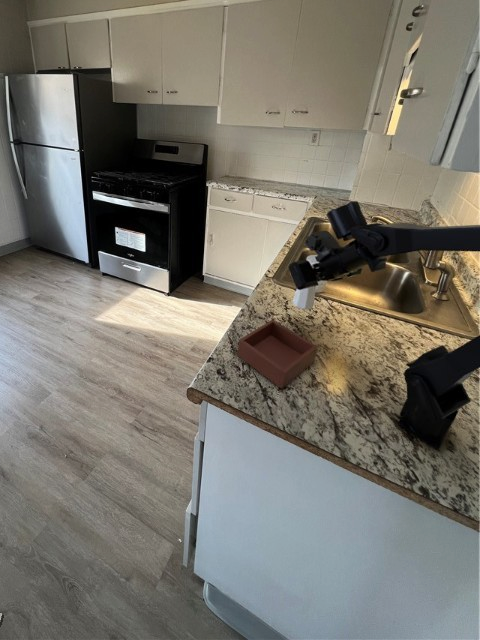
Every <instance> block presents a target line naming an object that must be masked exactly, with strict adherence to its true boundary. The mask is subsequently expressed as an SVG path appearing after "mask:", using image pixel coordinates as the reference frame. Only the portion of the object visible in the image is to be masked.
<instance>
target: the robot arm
mask: <svg viewBox="0 0 480 640" xmlns="http://www.w3.org/2000/svg"><path fill="white" fill-rule="evenodd" d="M326 219H327V220H328V222H329V224H330V226H331V229H332V231H333V233H334V235H335V237H334V235H332V233H331V232H330V231H329V230H319V231H314V232H313V233H310V235H308V236H306V239H305V242H304V244H305V246H306V247H307V249H308V250H309V251H311V252H313V251H314V252H315V254H316V255H317V256H316V257H315V258H316V261H317V262H319V263H316V264H313V267H312V266H311V264H310V262H309V261H307V260H306V259H307V258H306V259H301V260H296V261H293V262H292V263H290V264H289V265H288V271H289V273H290V275H291V278H292V281H293V283H294V285H295V288H296V290H297V289H298V290H302V289H306V288H310V287H313V286H317V285H319V284H318V282H319V281H327V282H337V281H341V280H343V279H344V277H346V278H348V279H349V278H352V277H355V276H356V277H357V276H359V275H361V274H362V271H363V268H365V267H367V266H368V268H369V270H370V272H371V273H376V272H379V271H382V270H386V268H387V261H388V258H387V257H389V256H396V255H401V254H408V253H413V252H420V251H422V252H423V251H425V252H428V251H430V252H475V253H476V252H478V253H479V252H480V224H470V225H449V226H448V225H446V226H445V225H444V226H428V225H421V224H417V223H410V222H403V221H402V222H401V221H396V222H390V223H380V222H374V223H368V221H367V219H366V217H365V216H364V214H363V212H362V209H361V205H360V202H358V201H357V200H355V201H349V202H348V203H346V204H343V205H340V206H338V207H336V208H332V209H331V210H329V211H328V212H327V213H326ZM339 240H343V242H347V241H349V242H348V243H346V244H344V245H342V246H341V244H339ZM351 240H352V241H351ZM318 267H319V268H318ZM405 365H406V367H408V368H406V369H405V370H404V372H403V376H404V381H405V383H406V399H405V401H404V404H403V406H402V408H401V410H400V411H399V416H400V419H399V420H398V422H397V424H398V426H399V427H401V428H402V429H404V430H405V431H407V432H408V433H409V434H411V435H412V436H414V437H416V438H417V439H419V440H420V441H422V442H423V443H425V444H426V445H428V446H429V447H431V448H433V449H434V450H436V451H439V450H440V449H441V447H442V445H443V443H444V441H445V438H446V437H447V434H448V432H449V430H450V429H451V427H452V425H453V423H454V421H455V420H456V417H457V415H458V414H459V410H460V409H461V408H463V407H465V406H466V405H468V404H470V403H471V401H472V400H471V398H470V396H469V395H468V392H467V390H466V388H465V386H464V384H463V383H464V382H465V381H467V379H469V378H470V377H471V375H472V374H473V373H474V372H475V371H476V370H479V369H480V334H479V335H477V336H475V337H474V338H472V339H471V340H468V341H467V342H465V343H464V344H462V345H460V346H459V347H457V348H455V349H453V350H450V351H448V350H447V348H446V347H445V346H444V344H442V345H439V346H437V347H435V348H432V349H430V350H428V351H425V352H424V353H421V355H419V356H418V357H417V358H416V359H414V360H411V361H409V362H407V363H405Z"/></svg>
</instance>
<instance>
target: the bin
mask: <svg viewBox="0 0 480 640" xmlns="http://www.w3.org/2000/svg"><path fill="white" fill-rule="evenodd" d="M318 349H319V346H318V345H316V344H314V343H313V342H312V341H310V340H308V339H307V338H304V337H303V336H301V335H299V334H298V333H296V332H294V331H293V330H291V329H289V328H288V327H286V326H284V325H283V324H281V323H280V322H278V321H276V320H274V319H271V320H269V321H267V322H266V323H265V324H264V323H263V324H262V325H261V326H260V327H257V328H256V329H254V330H253V331H251V332H249V333H248V334H246V335H245V336H243V337H241V338H240V339H238V346H237V351H236V356H237V357H239V358H240V359H242V361H244V362H245V363H246V364H248V365H250V366H251V367H252V368H253V369H255V370H256V371H257V372H259V373H260V374H261V375H262V376H263V377H265V378H266V379H268V380H269V381H270V382H271V383H273V384H275V386H277V387H278V388H280V389H281V390H283V389H284V388H286V386H288V385H289V384H290V383H291V382H292V381H294V379H296V378H297V377H298V376H299V375H301V373H303V372H304V371H305V370H307V368H308V367H310V366H311V365H312V364H314V362H315V360H316V356H317V352H318Z"/></svg>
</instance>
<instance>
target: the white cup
mask: <svg viewBox="0 0 480 640" xmlns="http://www.w3.org/2000/svg"><path fill="white" fill-rule="evenodd" d="M317 255H318V254H311V255H307V257H306V260H307V261H309V262H310V264H311V265H313V264H316V263H319V262H317V261H316V258H315V257H316V256H317ZM318 268H319V267H318ZM318 284H319V285H317V286H316V289H315V293H322V292H324V291H325V289H326V286H327V284H328V281H319V282H318Z"/></svg>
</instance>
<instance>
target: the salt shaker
mask: <svg viewBox="0 0 480 640" xmlns="http://www.w3.org/2000/svg"><path fill="white" fill-rule="evenodd" d="M311 266H312V267H313V265H311ZM315 289H316V286H313V287H310V288H306V289H302V290H298V289H297V288H296V291H295V293H294V297H293V300H292V304H293V305H294V307H296V308H298V309H301V310H304V311H305V310H311V309H313V308H314V305H315V297H316V292H315Z"/></svg>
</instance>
